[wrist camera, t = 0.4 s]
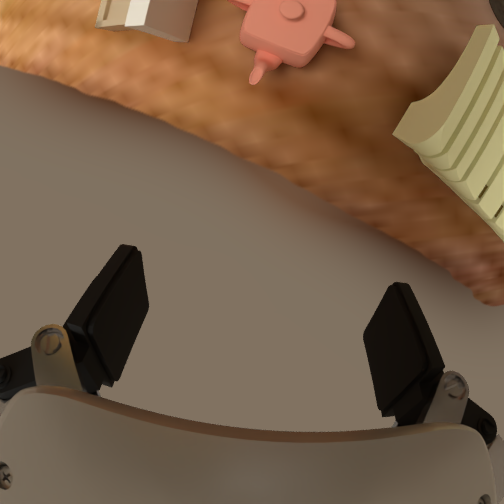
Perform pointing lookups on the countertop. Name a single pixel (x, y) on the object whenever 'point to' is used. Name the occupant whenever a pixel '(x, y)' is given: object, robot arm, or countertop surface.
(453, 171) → the slatted curved stool
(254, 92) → the countertop surface
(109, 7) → the beige slab with panel
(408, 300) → the robot arm
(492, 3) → the beer stein
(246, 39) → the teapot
